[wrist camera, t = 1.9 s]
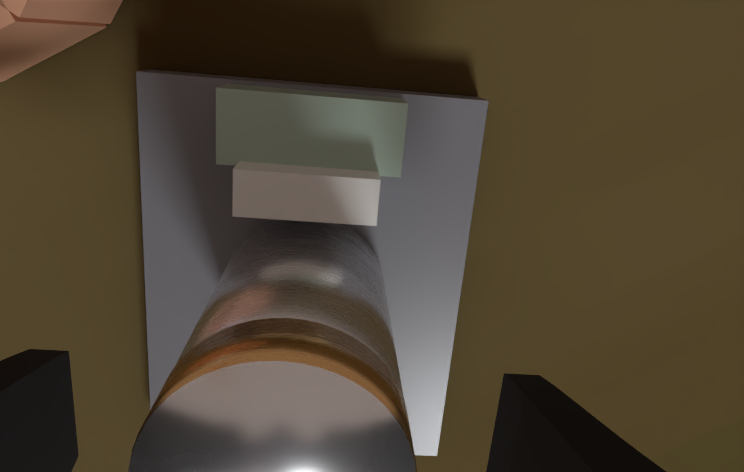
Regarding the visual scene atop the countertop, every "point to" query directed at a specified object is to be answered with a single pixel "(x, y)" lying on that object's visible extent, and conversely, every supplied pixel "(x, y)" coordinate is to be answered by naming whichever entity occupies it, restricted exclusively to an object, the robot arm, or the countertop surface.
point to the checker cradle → (310, 202)
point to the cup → (47, 29)
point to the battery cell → (286, 365)
